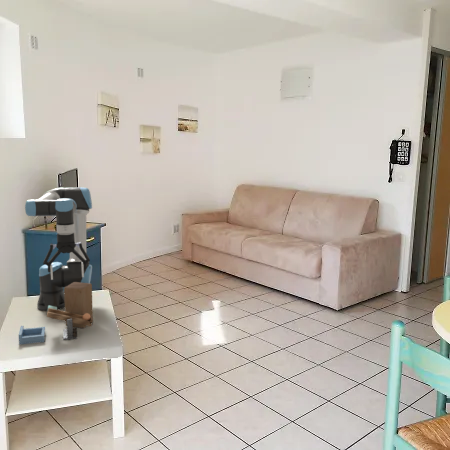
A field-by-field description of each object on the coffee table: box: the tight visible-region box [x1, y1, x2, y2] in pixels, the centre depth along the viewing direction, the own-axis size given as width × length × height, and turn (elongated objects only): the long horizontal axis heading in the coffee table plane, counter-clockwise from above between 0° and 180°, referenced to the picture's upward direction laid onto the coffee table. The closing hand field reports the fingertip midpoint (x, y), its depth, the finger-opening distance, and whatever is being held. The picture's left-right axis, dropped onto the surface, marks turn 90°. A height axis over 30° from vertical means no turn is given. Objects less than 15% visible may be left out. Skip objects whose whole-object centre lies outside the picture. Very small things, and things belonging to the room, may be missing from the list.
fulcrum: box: [62, 312, 78, 341], centre depth 220 cm, size 6×11×9 cm, turn 18°
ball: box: [83, 313, 91, 321], centre depth 221 cm, size 4×4×4 cm
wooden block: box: [63, 282, 94, 329], centre depth 231 cm, size 10×10×20 cm
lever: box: [46, 305, 94, 327], centre depth 222 cm, size 20×13×4 cm, turn 108°
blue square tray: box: [18, 325, 46, 346], centre depth 215 cm, size 10×10×4 cm
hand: (67, 277), depth 220 cm, fingers open, 13 cm apart
